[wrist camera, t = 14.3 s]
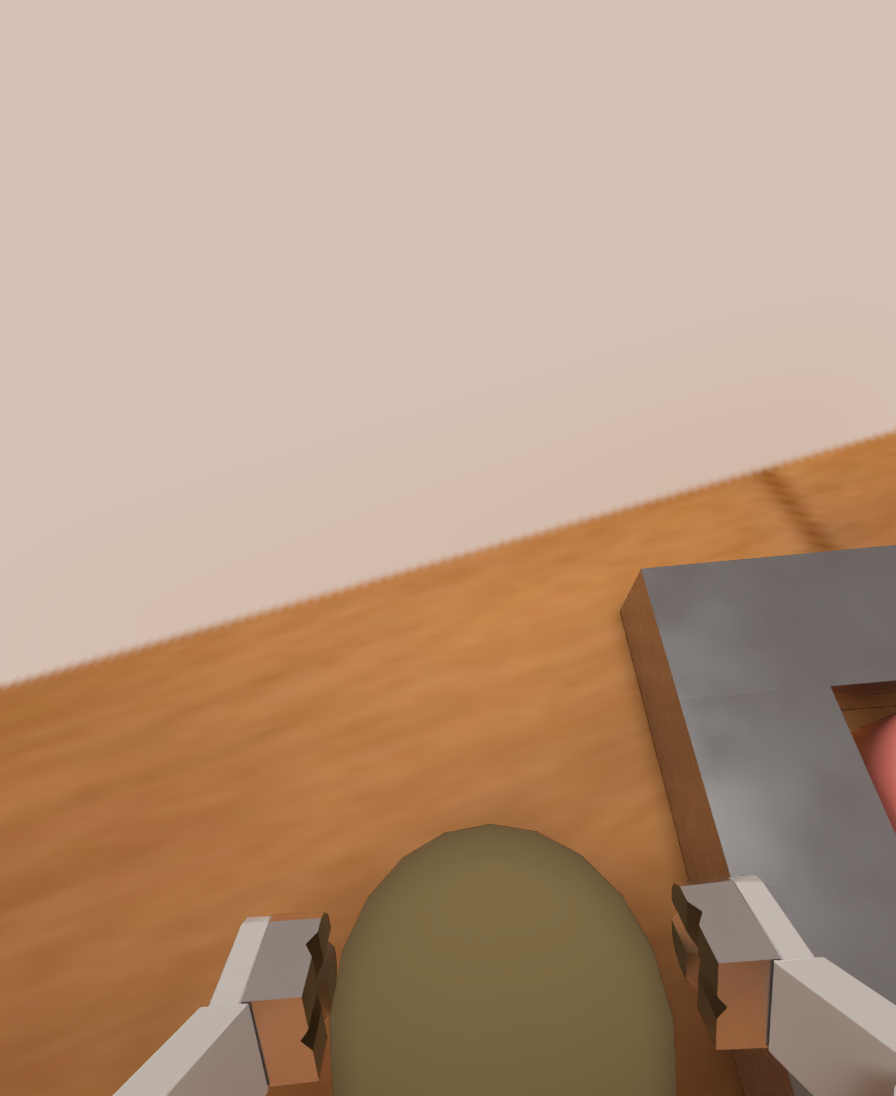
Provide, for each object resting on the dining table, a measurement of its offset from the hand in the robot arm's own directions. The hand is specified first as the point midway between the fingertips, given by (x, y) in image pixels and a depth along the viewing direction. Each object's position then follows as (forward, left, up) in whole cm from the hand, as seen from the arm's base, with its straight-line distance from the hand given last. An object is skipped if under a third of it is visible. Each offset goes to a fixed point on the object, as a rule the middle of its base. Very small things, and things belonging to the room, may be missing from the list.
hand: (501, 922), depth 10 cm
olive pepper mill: (0, -1, -8) cm, 8 cm away
